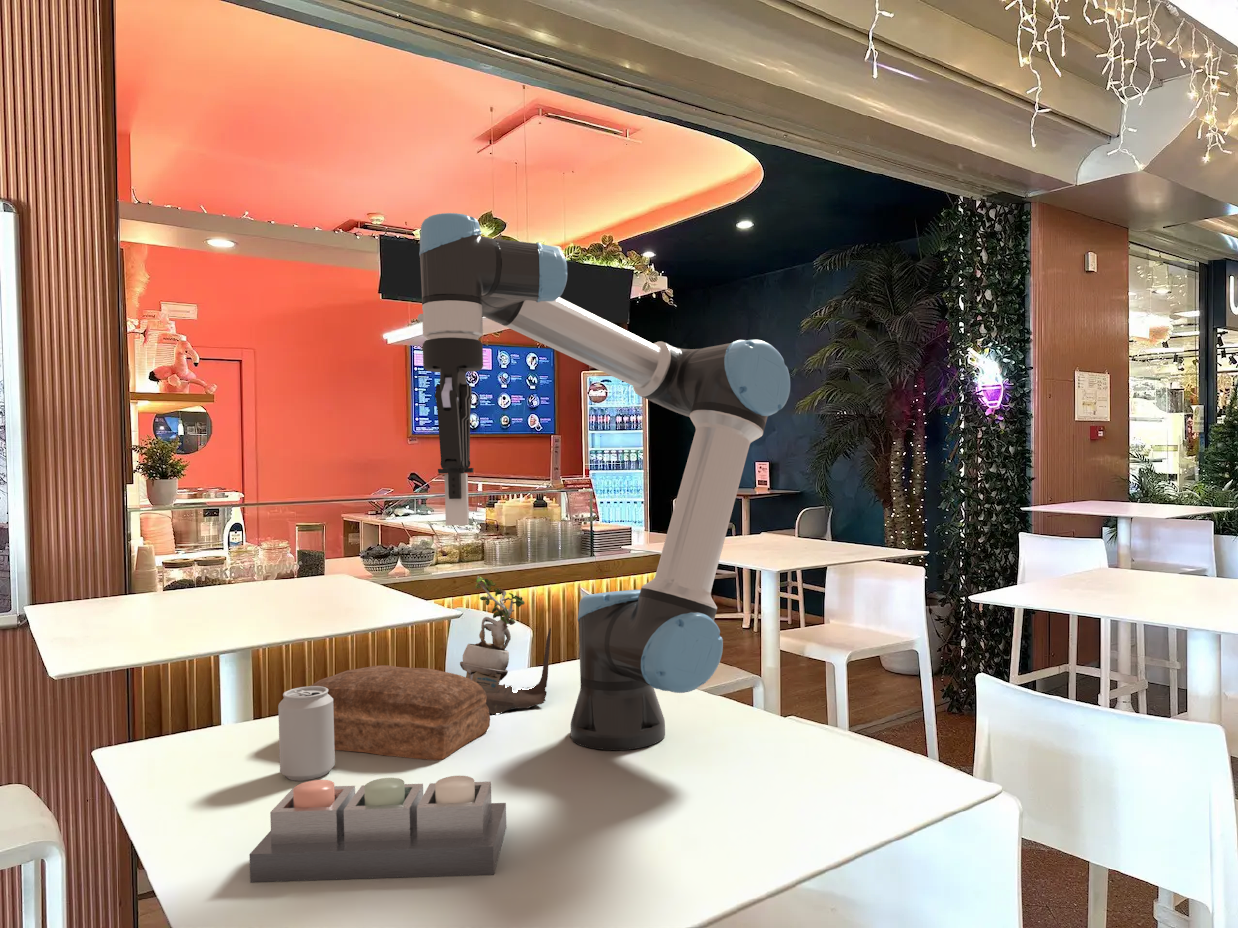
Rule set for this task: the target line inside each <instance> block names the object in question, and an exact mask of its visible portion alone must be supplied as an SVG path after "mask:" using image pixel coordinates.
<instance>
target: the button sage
mask: <svg viewBox="0 0 1238 928" xmlns="http://www.w3.org/2000/svg"><path fill="white" fill-rule="evenodd" d="M404 784H405V781H404V780H403V779H402V778H398V777H382V778H378V779H373V780H371V781H369V782H367V783H366V784H365V787H364V790H365V806H373V805H402V804H403V803H404V801H405V787H404Z"/></svg>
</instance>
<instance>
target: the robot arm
mask: <svg viewBox="0 0 1238 928" xmlns="http://www.w3.org/2000/svg"><path fill="white" fill-rule="evenodd" d="M480 227H481V225H480V223H479V221H478V219H477V218H475V217H474V216H469V215H467V214H464V213H456V212H455V213H454V212H446V213H445V212H444V213H437V214H433V215H430V216H427V218H425V219H424V220H423V221H422V223H421V226H420V235H419V237H420V238H419V258H420V259H419V261H420V262H419V263H420V264H419V265H420V281H421V306H422V313H419V314H418V315H417V321H418V322H422V335H423V337H424V338H426V340H424V342H423V343H422V365H423V369H424V370H426V371H427V372H432V373H439V384H436V385H435V393H434V399H435V404H436V411H437V425H438V438H439V452H440V467H441V468H437V473H438V474H439V475H440V474H442V475H443V476H444V504H445V505H444V507H445V526H468V525H469V524H470V511H469V510H470V509H469V477H468V476H469V474H471V473H474V467H471V459H470V458H471V409H472V403H473V401H472V400H473V399H472V396H473V395H472V391H473V390H472V385H469V384H468V381H467V375H466V374H467V373H469V372H471V373H475V372H479V371H481V370H482V369H483V367H484V347H483V346H484V344H483V342H481V341H480V338H481V337H483V336H484V335H483V334H484V332H483V331H484V327H483V318H486V319H488V320H490V321H492V322H495V323H497V324H499V325H502V326H503V327H506V328H508V329H509V330H510V329H511V330H513V331H514V332H516V333H519V334H521V335H523V336H526V337H527V338H529V339H531V340H533V341H536V342H539V343H541V344H542V345H544V346H547V347H548V348H551V349H553V350H556V351H557V352H559V353H562V354H564V355H566V356H568V357H571V358H572V359H575V360H577V361H579V362H581V363H582V364H583V363H584V364H585V365H588V366H590V367H592V368H594V369H596V370H598V371H600V372H603V373H604V374H607V375H608V376H611V377H613V378H615V379H617V380H620V381H622V382H624V383H627V384H628V385H631V386H632V388H633V390H634V393H635V394H636V395H638V396H640V397H641V398H644V399H646V400H648V401H650V402H652V403H653V404H657V405H659V406H661V407H662V408H665V409H667V410H669V411H672V412H674V413H678V414H679V415H683V416H685V417H689V418H690V420H691V422H692V424H693V426H694V427H695V432H694V436H693V440H692V441H691V442H692V443H691V445H690V449H689V454H688V457H687V462H686V464H685V468H684V471H683V474H682V479H681V481H680V486H679V489H678V492H677V496H676V501H675V504H674V508H673V511H672V513H671V514H672V515H671V518H670V522H669V526H668V529H667V532H666V536H665V539H664V540H665V541H664V543H663V548H662V550H661V554H660V558H659V562H658V564H657V569H656V573H655V576H654V578H652V580H650V581H648V582H646V583H645V584H643V585H642V586H641V589H628V590H617V591H607V592H606V591H605V592H599V593H593V594H592V593H591V594H586V595H585V596H583V597H582V598H581V599H580V601H579V604H578V613H577V615H578V616H577V622H578V640H579V641H578V643H579V648H578V649H579V672H580V673H579V677H580V678H579V679H580V689H579V693H578V697H577V700H576V703H575V705H574V706H575V707H574V710H573V713H572V717H571V720H570V738H571V740H572V741H573V742H574V743H576V744H577V745H580V746H582V747H585V748H590V749H596V750H603V751H605V750H607V751H622V750H624V751H625V750H634V749H639V748H640V749H641V748H645V747H648V746H652V745H654V744H657V743H659V742H660V741H662V740H663V739H664V738H665V736H666V721H665V717H664V714H663V712H662V711H663V710H662V708H661V706H660V702H659V699H658V696H657V694H656V691H655V690H660V691H662V692H663V691H664V692H671V693H675V694H683V693H689V692H693V691H695V690H697V689H698V688H700V686H702V685H704V684H706V683H707V682H708V681H709V680H710V679H711V678H712V677H713V675H714V674H715V672H716V671H717V669H718V668H719V667H718V666H719V665H720V663H721V659H722V657H723V656H722V655H723V650H724V648H723V647H724V639H723V637H722V636H721V635H720V633H721V630H720V627H719V626H718V624H717V622H715V619H716V615H717V611H718V606H717V605H716V603H715V601H714V599H713V598H712V594H711V593H712V589H713V585H714V581H715V578H716V573H717V570H718V567H719V563H720V559H721V554H722V551H723V547H724V544H725V543H724V542H725V540H726V536H727V532H728V528H729V525H730V520H731V518H732V514H733V513H732V512H733V509H734V505H735V502H736V498H737V494H738V490H739V486H740V483H741V479H742V476H743V472H744V467H745V464H746V461H747V457H748V453H749V449H750V445H751V443H753V442H754V441H756V440H758V439H759V438H761V437H762V436H763V435H764V431H765V428H766V424H767V420H768V417H769V416H772V415H774V414H776V413H778V412H779V411H781V410H782V409H783V408H784V407H785V405H786V404H787V401H788V399H789V397H790V393H791V376H790V373H789V372H790V371H789V369H788V366H787V365H786V364H785V360H784V358H783V356H782V355H781V353H780V352H779V350H778V349H776V348H775V347H774V346H773V345H772V344H770V343H769V342H766V341H764V340H761V339H748V340H746V339H738V340H735V341H734V340H733V342H731V343H725V344H719V345H714V346H713V345H712V346H708V347H703V348H695V349H694V348H693V349H690V348H680V347H675V346H673V345H670V344H669V343H667V342H664V341H662V340H661V341H657V342H654V343H652V342H651V341H648V340H646V339H644V338H642V337H640V336H639V335H636V334H635V333H632V332H630V331H629V330H626V329H624V328H622V327H620V326H618V325H617V324H615V323H613V322H610V321H608V320H607V319H604V318H603V317H600V316H598V315H596V314H594V313H592V312H590V311H588V310H586V309H584V308H582V307H580V306H578V305H576V304H574V303H572V302H570V301H569V300H566V299H564V298H562V297H561V296H562V295H563V293H564V290H565V288H566V285H567V281H568V262H567V259H566V256H565V254H564V253H563V251H562V250H561V249H559V248H558V247H556V246H552V245H547V244H542V243H541V242H536V243H535V242H525V241H517V240H516V241H515V240H510V239H508V240H507V239H500V238H492V237H487V236H482V231H481V228H480Z"/></svg>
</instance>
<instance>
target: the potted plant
mask: <svg viewBox="0 0 1238 928" xmlns="http://www.w3.org/2000/svg"><path fill="white" fill-rule="evenodd" d="M475 582H476V584H475V587H474V590H477V589H481V588H482V589H483V590H484V592H485V593H486V594H487V596H481V597H479V599H480V600H481V601H485V605H486V606H489V605H490V600H491V601H493V602H494V607H493V608H492V610H491V613H492V614H493V615H492V618H491V617H489V616H485V617H483V619H482V621H481V628H480V631H479V635H478V636H479V639H480V641H479V642H478V643H477V642H476V643H468V644H467V645H466V647H465V649H464V651H463V654H462V661H460V662H459V665H460V668H461V669H462V670H463V671H465V672H466V673H465V675H466V676H465V677H466V678H468V679H471V680H473V681H474V682H476V683H478V684H479V685H480V686H481V687H482V688H483V689H484V691H485V693H486V697H487V698H486V705H487V706H488V708H489V714H491V715H493V714H496V713H501V712H503V713H504V712H506V711H509V710H514V709H530V708H531V707H534V706H537V705H542V704H544V703H545V702H546V696H547V694H548V693H547V691H546V688H547V687H548V686H547V685H548V679H549V678H548V677H549V661H550V645H551V631H552V628H551V627H550V628H549V629H548V634H547V637H546V641H545V650H544V655H543V656H544V657H543V665H542V670H541V677H540V680H539V682H538V683H537V684H535V685H536V686H535V685H534V686H535V687H534V686H533V687H534V688H532V689H529V690H522V689H521V690H518V692H517V693H513V692H512V687H513V686H512V685H508V686H509V687H507V688H505V685H506V684H505V683H504V684H500V682H501V681H502V680H503V679H504V678H505V677H506V676H508V671H509V670H507V667H508V666H509V663H510V662H509V660H510V657H509V656H510V653H509V650H506V649H507V647H508V645H509V643H510V641H511V633H510V630H509V626H508V625H510V626H513V625H514V624H515V623H516V620H515V619H514V617H512V618H510V616H511V615H512V612H515V610H514V609H513V606H514V604H515V605H516V607H518V608H520V607H521V606H522V605H525V601H524V600H523V597H522V596H518V595H514V594H513V593H511V592H509V593H508V595H510V596H511V598H510V597H506V598H505V596H506V595H507V591H505V590H504V589H502V588H498V587H497V588H495V589H494V593H495V595H494V597H493V595H492V594H491V593H490V592H491V590H492V588H491V587H492V586H493V587H495V586H496V585H497V583H496V582H493V580H491V579H488V578H483V577H482V576H479V575H477V577H476V581H475ZM498 595H501V596H502V597H501V598H500V599H499V601H498V600H497V599H496V598H495V597H497V596H498ZM508 600H510V603H509V608H507V606H506V605H505V604H506V602H507V601H508ZM514 600H515V601H514ZM498 606H499V607H500V608H502V609H500V608H499V607H498ZM497 617H500V619H499V620H495V618H497ZM485 630H486V631H488V632H490V633H491V636H492V637H491V639H492V643H491V642H489V643H488V642H486V640H485V638H486V637H485V636H486V632H485ZM511 686H512V687H511ZM501 714H502V713H501Z"/></svg>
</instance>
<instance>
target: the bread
mask: <svg viewBox="0 0 1238 928" xmlns="http://www.w3.org/2000/svg"><path fill="white" fill-rule="evenodd" d="M310 686H321V687H326V688H327V689H329V690H328V692H327V693H328V694H329V695H330V696H331V697H332V698H333V709H334V747H335V751H345V752H355V753H356V752H359V753H366V754H367V753H368V754H375V755H378V756H379V755H380V756H386V757H387V756H388V757H399V758H407V759H418V760H431V761H432V760H433V761H437V760H438V761H439V760H440V761H441V760H444V759H446V758H447V757H449V756H450V755H452V754H453V753H455V752H456V751H458V750H459V749H460V748H462V747H464V746H466V745H467V744H469V743H471V742H472V741H474V740H476V739H477V738H480V736H482V735H484V734H485V733H486V732H487V731H488V730H489V728H490V724H491V716H490V713H489V708H488V706H487V705H486V698H487V697H486V693H485V691H484V689H483V688H482V687H481V686H480V685H479V684H478V683H476V682H474V681H473V680H471V679H468V678H466V676H463V675H460V674H457V673H452V672H448V671H447V672H446V671H443V670H438V669H434V668H424V667H403V666H402V667H401V666H394V665H387V664H385V665H384V664H382V665H372V666H371V665H370V666H368V667H367V666H366V667H360V668H355V669H348V670H344V671H342V672H339V673H337V674H334V675H331V676H327V677H325V678H321V679H319V680H317V681H316V682H314V683H312V684H311V685H310ZM475 738H476V739H475ZM470 741H471V742H470ZM468 742H469V743H468Z"/></svg>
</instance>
